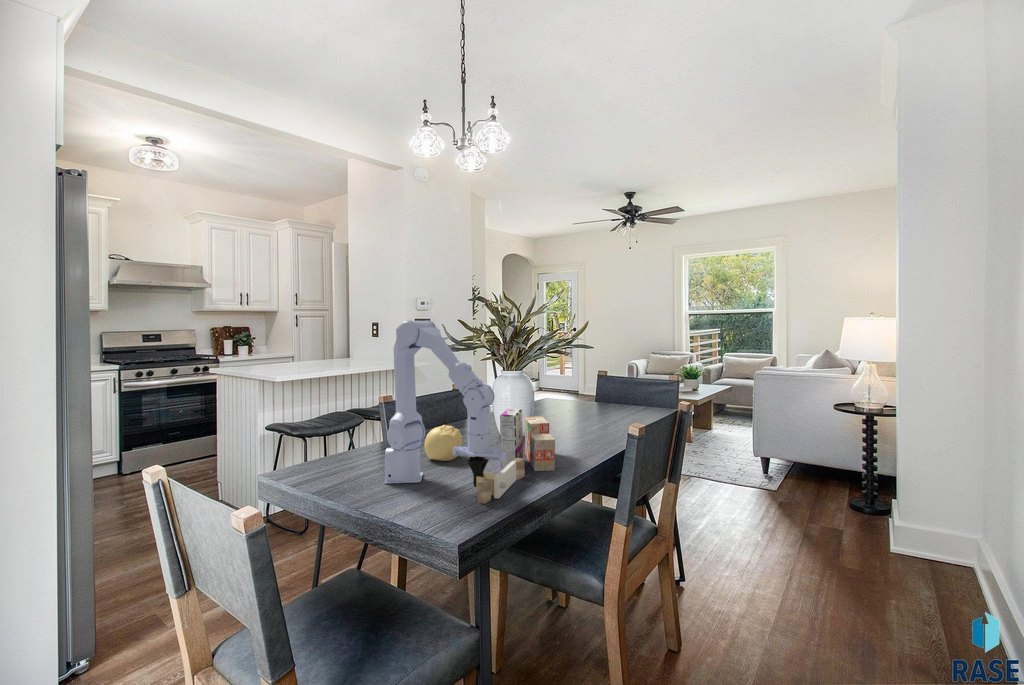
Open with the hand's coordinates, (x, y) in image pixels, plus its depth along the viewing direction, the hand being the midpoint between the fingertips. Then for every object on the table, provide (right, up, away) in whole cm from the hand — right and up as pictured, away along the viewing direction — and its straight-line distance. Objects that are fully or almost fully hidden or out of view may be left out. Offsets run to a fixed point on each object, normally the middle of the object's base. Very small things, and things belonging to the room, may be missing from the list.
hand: (478, 485), depth 124 cm
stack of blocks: (+17, -1, +28) cm, 32 cm away
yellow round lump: (-13, -1, +31) cm, 34 cm away
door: (+7, -1, +1) cm, 7 cm away
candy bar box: (+9, -1, +23) cm, 24 cm away
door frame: (+6, -1, +2) cm, 7 cm away
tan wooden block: (+3, -1, -1) cm, 3 cm away
